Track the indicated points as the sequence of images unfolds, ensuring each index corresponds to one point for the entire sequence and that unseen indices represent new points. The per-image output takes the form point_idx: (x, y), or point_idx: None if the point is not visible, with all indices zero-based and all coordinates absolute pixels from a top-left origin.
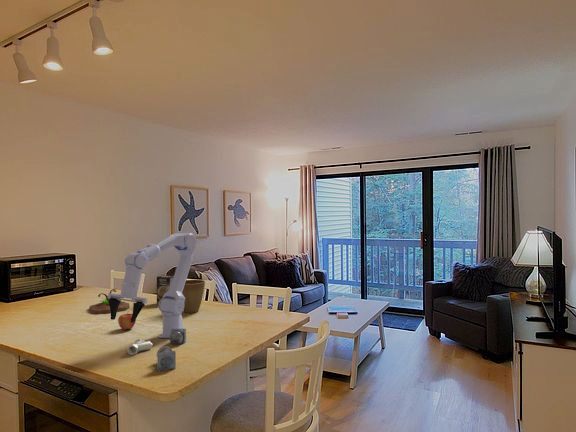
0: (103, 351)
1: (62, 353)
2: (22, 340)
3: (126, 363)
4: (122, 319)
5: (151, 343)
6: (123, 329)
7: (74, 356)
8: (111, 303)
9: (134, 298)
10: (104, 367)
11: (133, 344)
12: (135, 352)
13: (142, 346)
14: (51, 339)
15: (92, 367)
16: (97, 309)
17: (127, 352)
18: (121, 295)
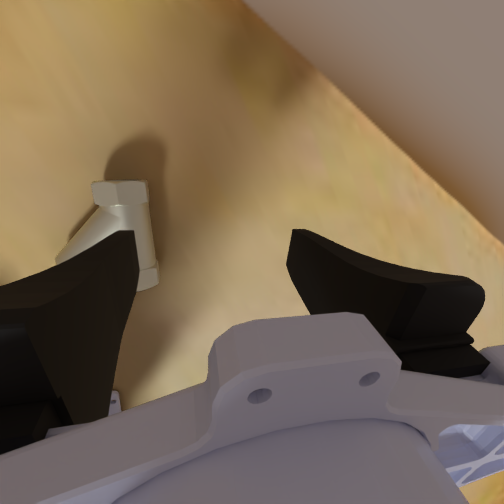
0: (268, 218)
1: (384, 192)
2: (492, 282)
3: (82, 56)
4: None
5: None
6: None
7: (341, 163)
8: (407, 275)
9: (14, 462)
10: (169, 9)
11: (115, 192)
12: (104, 181)
13: (84, 224)
14: None
15: (225, 20)
16: None
17: (147, 181)
18: (393, 353)
